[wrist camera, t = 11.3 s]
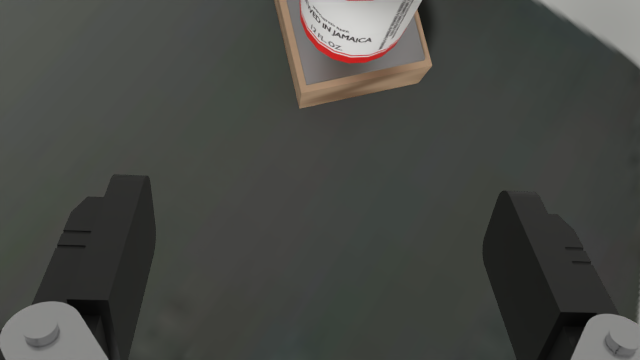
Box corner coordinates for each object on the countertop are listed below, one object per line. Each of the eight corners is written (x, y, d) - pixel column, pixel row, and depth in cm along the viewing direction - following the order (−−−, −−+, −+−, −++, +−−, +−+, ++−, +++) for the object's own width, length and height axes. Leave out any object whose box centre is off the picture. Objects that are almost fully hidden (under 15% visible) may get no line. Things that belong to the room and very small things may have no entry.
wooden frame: (299, 108, 39) (301, 91, 35) (272, -8, 40) (271, -37, 36) (418, 82, 40) (433, 63, 36) (389, -31, 41) (400, -62, 37)
